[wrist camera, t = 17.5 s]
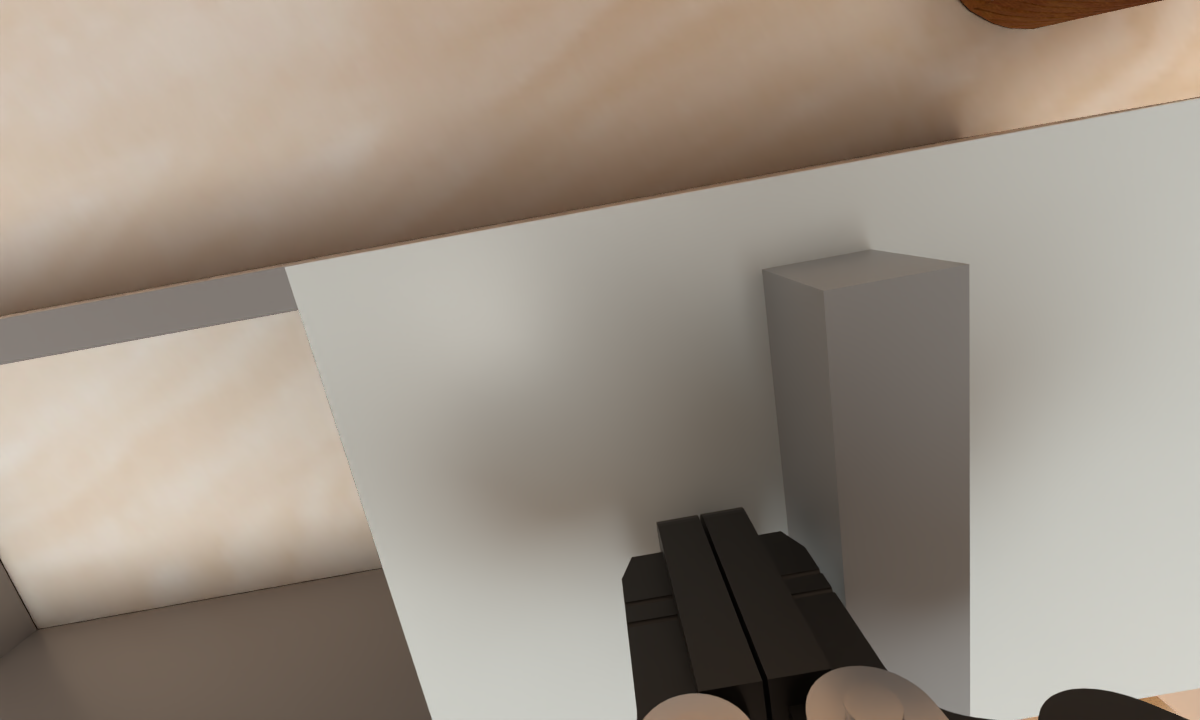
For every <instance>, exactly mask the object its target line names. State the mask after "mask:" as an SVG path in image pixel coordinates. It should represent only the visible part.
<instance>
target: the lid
mask: <svg viewBox="0 0 1200 720" xmlns="http://www.w3.org/2000/svg"><path fill="white" fill-rule="evenodd" d="M285 270H286V273H287V276H288V280H289V283H290V286H291V289H292V292H293V295H294V298H295V301H296V304H297V307H298V310H299V313H300V316H301V319H302V322H303V325H304V329H305V332H306V335H307V338H308V341H309V344H310V347H311V350H312V353H313V356H314V359H315V362H316V365H317V368H318V371H319V375H320V378H321V381H322V384H323V387H324V390H325V393H326V396H327V399H328V402H329V405H330V408H331V411H332V414H333V417H334V420H335V424H336V427H337V430H338V433H339V436H340V439H341V442H342V445H343V448H344V451H345V454H346V457H347V460H348V463H349V466H350V470H351V473H352V476H353V479H354V482H355V485H356V488H357V491H358V494H359V497H360V500H361V503H362V506H363V509H364V512H365V515H366V519H367V522H368V525H369V528H370V531H371V534H372V537H373V540H374V543H375V546H376V549H377V552H378V555H379V558H380V561H381V565H382V568H383V571H384V574H385V577H386V580H387V583H388V586H389V589H390V592H391V595H392V598H393V601H394V604H395V607H396V610H397V614H398V617H399V620H400V623H401V626H402V629H403V632H404V635H405V638H406V641H407V644H408V647H409V650H410V653H411V656H412V660H413V663H414V666H415V669H416V672H417V675H418V678H419V681H420V684H421V687H422V690H423V693H424V696H425V699H426V702H427V706H428V709H429V712H430V715H431V718H432V720H637V708H636V700H635V691H634V682H633V673H632V665H631V656H630V647H629V639H628V630H627V621H626V613H625V603H624V595H623V586H622V577H623V575H624V573H625V571H626V568H627V566H628V564H629V562H630V560H631V558H632V557H635V556H641V555H647V554H653V553H658V552H661V550H660V544H659V538H658V532H657V525H656V522H659V521H665V520H670V519H676V518H682V517H688V516H693V515H698V516H699V519H700V514H704V513H710V512H715V511H721V510H727V509H732V508H738V507H743V508H744V510H745V511H746V513H747V515H748V517H749V519H750V521H751V522H752V524H753V526H754V528H755V530H756V531H757V533H758V535H761V534H767V533H772V532H778V531H781V532H783V533H784V534H786V535H787V536H789V537H790V538H792V539H794V540H795V541H797V542H798V543H800V544H801V545H803V546H804V547H805V548H806V549H807V551H808V552H809V554H810V555H811V557H812V558H813V560H814V561H815V563H816V564H817V566H818V567H819V569H820V573H823V575H824V576H825V578H826V579H827V581H828V582H829V584H830V585H831V587H832V590H833V592H835V593H836V594H837V596H838V597H839V599H840V600H841V602H842V603H843V605H844V606H845V608H846V609H847V611H848V612H849V614H850V615H851V617H852V618H853V620H854V621H855V623H856V624H857V626H858V627H859V629H860V630H861V632H862V633H863V635H864V636H865V638H866V639H867V641H868V642H869V644H870V645H871V647H872V648H873V650H874V651H875V653H876V654H877V656H878V657H879V659H880V660H881V662H882V663H883V665H884V666H885V668H886V669H887V670H888V671H889V672H892V673H895V674H897V675H899V676H901V677H903V678H905V679H907V680H909V681H910V682H912V683H913V684H915V685H916V686H918V687H919V688H920V689H921V690H923V691H924V692H925V693H926V694H927V695H928V696H929V697H930V698H931V699H932V700H933V701H934V702H935V703H936V705H937V706H938V707H939V708H942V709H944V710H947V711H950V712H953V713H957V714H960V715H965V716H971V717H976V718H984V719H993V720H1018V719H1024V718H1030V717H1036V716H1039V713H1040V709H1041V707H1042V705H1043V704H1044V702H1045V701H1046V700H1047V699H1048V698H1050V697H1051V696H1052V695H1054V694H1057V693H1059V692H1061V691H1065V690H1070V689H1080V688H1088V689H1100V690H1106V691H1112V692H1116V693H1120V694H1123V695H1127V696H1130V697H1133V698H1136V699H1140V698H1146V697H1151V696H1157V695H1163V694H1169V693H1175V692H1180V691H1186V690H1192V689H1198V688H1200V98H1194V99H1189V100H1183V101H1178V102H1173V103H1167V104H1162V105H1156V106H1151V107H1146V108H1140V109H1135V110H1129V111H1124V112H1118V113H1113V114H1108V115H1102V116H1097V117H1091V118H1086V119H1081V120H1075V121H1070V122H1064V123H1059V124H1053V125H1048V126H1043V127H1037V128H1032V129H1026V130H1021V131H1016V132H1010V133H1005V134H999V135H994V136H989V137H983V138H978V139H972V140H967V141H961V142H956V143H951V144H945V145H940V146H934V147H929V148H924V149H918V150H913V151H907V152H902V153H897V154H891V155H886V156H880V157H875V158H869V159H864V160H859V161H853V162H848V163H842V164H837V165H832V166H826V167H821V168H815V169H810V170H805V171H799V172H794V173H788V174H783V175H777V176H772V177H767V178H761V179H756V180H750V181H745V182H740V183H734V184H729V185H723V186H718V187H713V188H707V189H702V190H696V191H691V192H685V193H680V194H675V195H669V196H664V197H658V198H653V199H648V200H642V201H637V202H631V203H626V204H621V205H615V206H610V207H604V208H599V209H593V210H588V211H583V212H577V213H572V214H566V215H561V216H556V217H550V218H545V219H539V220H534V221H529V222H523V223H518V224H512V225H507V226H501V227H496V228H491V229H485V230H480V231H474V232H469V233H464V234H458V235H453V236H447V237H442V238H436V239H431V240H426V241H420V242H415V243H409V244H404V245H399V246H393V247H388V248H382V249H377V250H372V251H366V252H361V253H355V254H350V255H344V256H339V257H334V258H328V259H323V260H317V261H312V262H307V263H302V264H298V265H293V266H288V267H285Z"/></svg>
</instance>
